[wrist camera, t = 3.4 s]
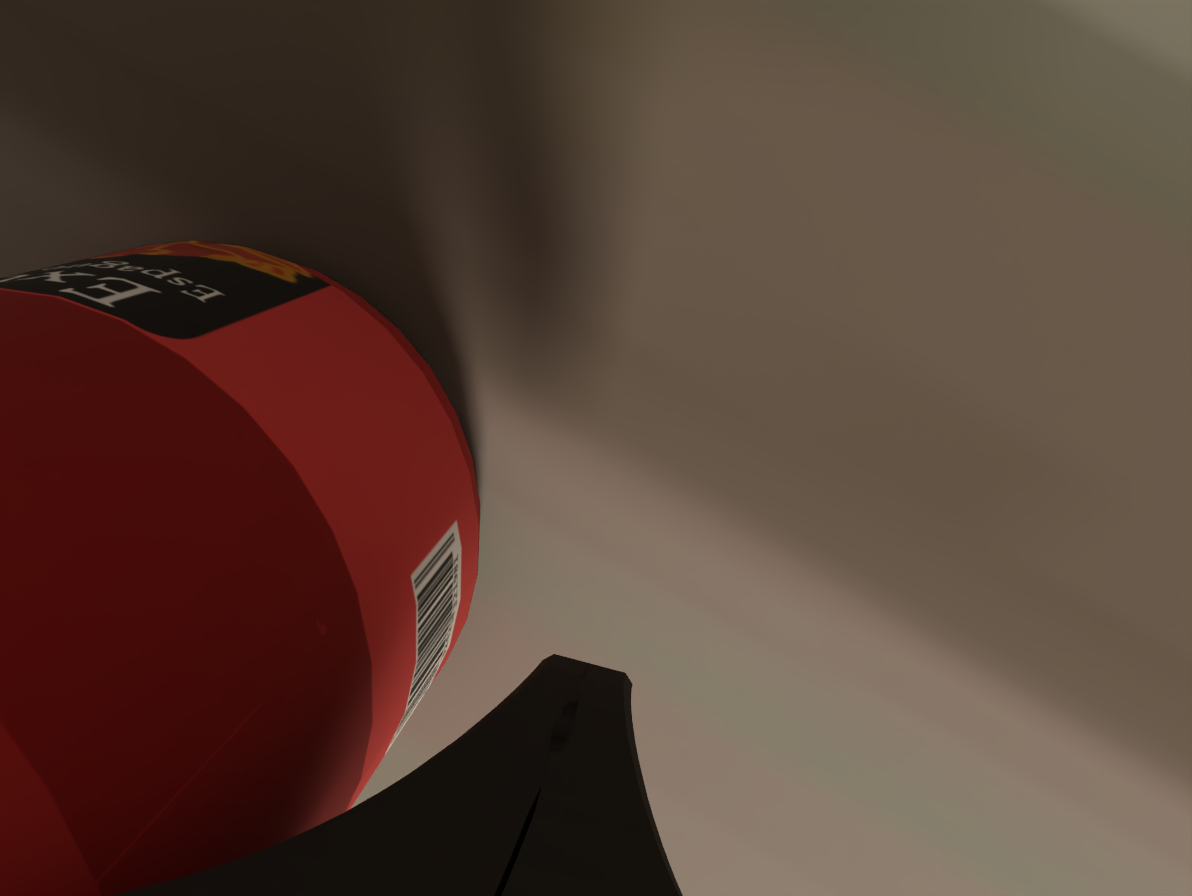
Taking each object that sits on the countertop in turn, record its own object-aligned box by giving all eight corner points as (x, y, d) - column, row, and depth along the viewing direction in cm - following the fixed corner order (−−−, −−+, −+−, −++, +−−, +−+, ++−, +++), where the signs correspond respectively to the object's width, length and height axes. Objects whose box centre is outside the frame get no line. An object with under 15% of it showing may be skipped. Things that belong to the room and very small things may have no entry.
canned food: (325, 135, 15) (-765, 241, 5) (592, 617, 16) (209, 1487, 6) (-48, 364, 17) (-1297, 764, 7) (215, 766, 19) (-507, 1568, 9)
